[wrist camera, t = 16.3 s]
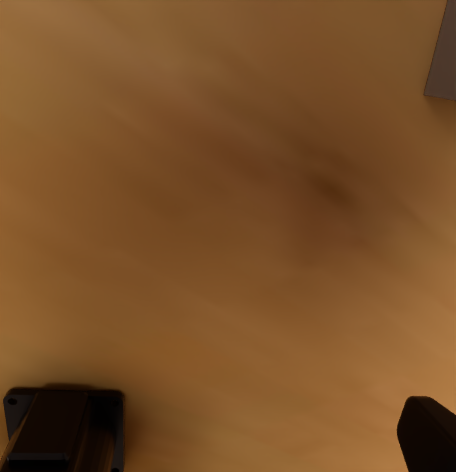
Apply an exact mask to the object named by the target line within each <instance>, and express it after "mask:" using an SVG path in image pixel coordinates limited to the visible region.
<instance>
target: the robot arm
mask: <svg viewBox="0 0 456 472" xmlns="http://www.w3.org/2000/svg"><path fill="white" fill-rule="evenodd" d="M13 398H15V399H16V400H15V399H13ZM113 400H117V401H113ZM3 404H4V410H5V417H6V424H7V430H8V437H9V443H8V446H7V448H6V450H5V452H4V454H3V456H2V458H1V460H0V472H123V471H124V395H123V394H122V393H120V392H116V391H73V390H26V389H13V390H9V391H8V392H7V393H6V395H5V397H4V399H3ZM397 437H398V441H399V444H400V447H401V450H402V453H403V456H404V459H405V462H406V465H407V468H408V471H409V472H456V415H455V414H454V413H452V412H451V411H449V410H448V409H447V408H445V407H444V406H442V405H441V404H440V403H438V402H437V401H435V400H434V399H432V398H430V397H427V396H410V397H409V398H408V399H407V400H406V402H405V405H404V408H403V411H402V413H401V416H400V419H399V422H398V425H397Z"/></svg>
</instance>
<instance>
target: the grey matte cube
mask: <svg viewBox="0 0 456 472" xmlns="http://www.w3.org/2000/svg"><path fill="white" fill-rule="evenodd" d="M424 95H427V96H433V97H438V98H444V99H450V100H455V101H456V0H448V2H447V6H446V10H445V14H444V18H443V21H442V25H441V29H440V33H439V37H438V41H437V45H436V49H435V53H434V57H433V60H432V64H431V68H430V72H429V76H428V80H427V84H426V88H425V92H424Z"/></svg>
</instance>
